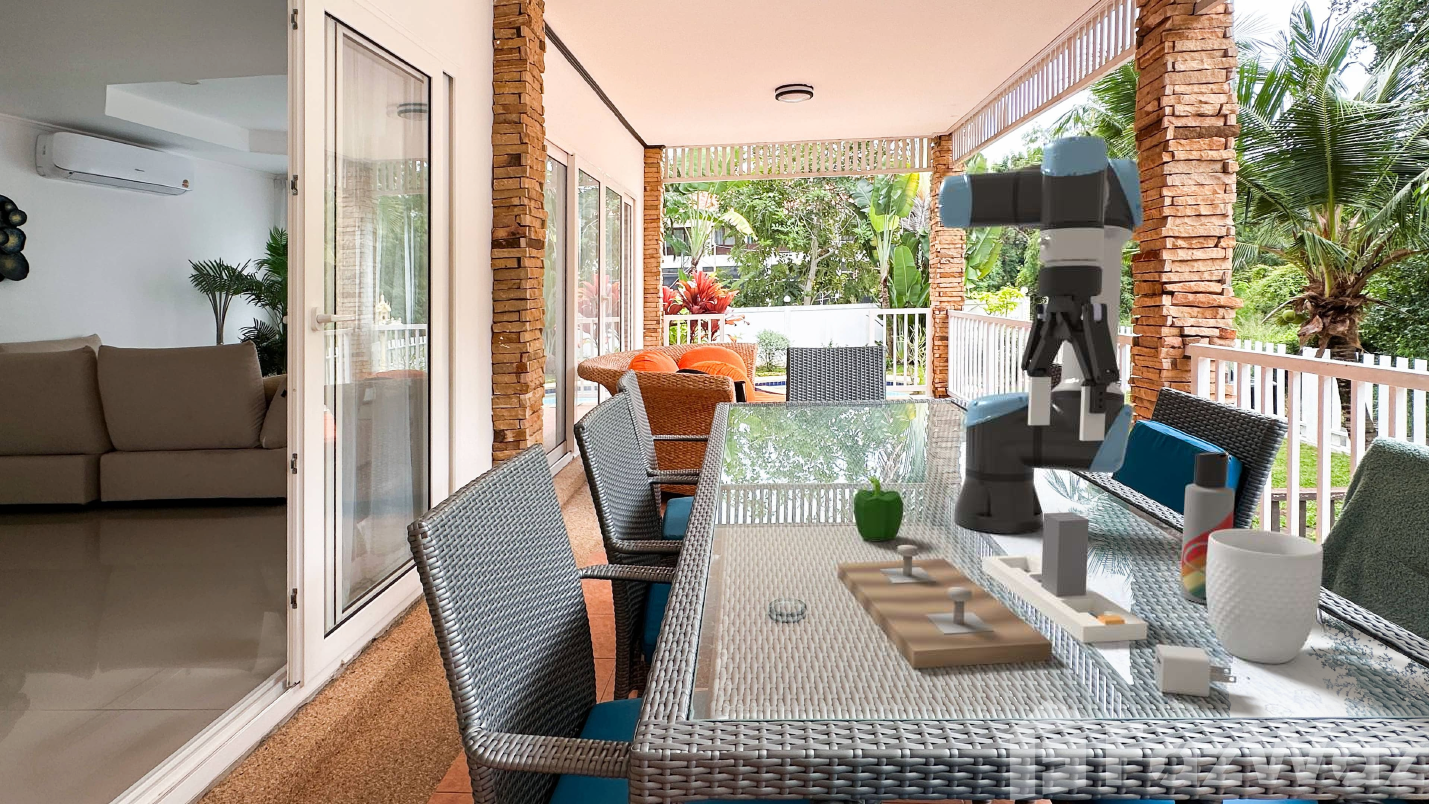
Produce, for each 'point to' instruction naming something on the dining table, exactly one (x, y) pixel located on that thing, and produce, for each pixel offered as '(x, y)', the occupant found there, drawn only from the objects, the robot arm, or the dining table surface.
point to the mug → (1262, 592)
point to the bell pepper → (878, 513)
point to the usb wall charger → (1186, 671)
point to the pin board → (940, 613)
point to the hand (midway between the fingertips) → (1063, 432)
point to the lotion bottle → (1204, 520)
